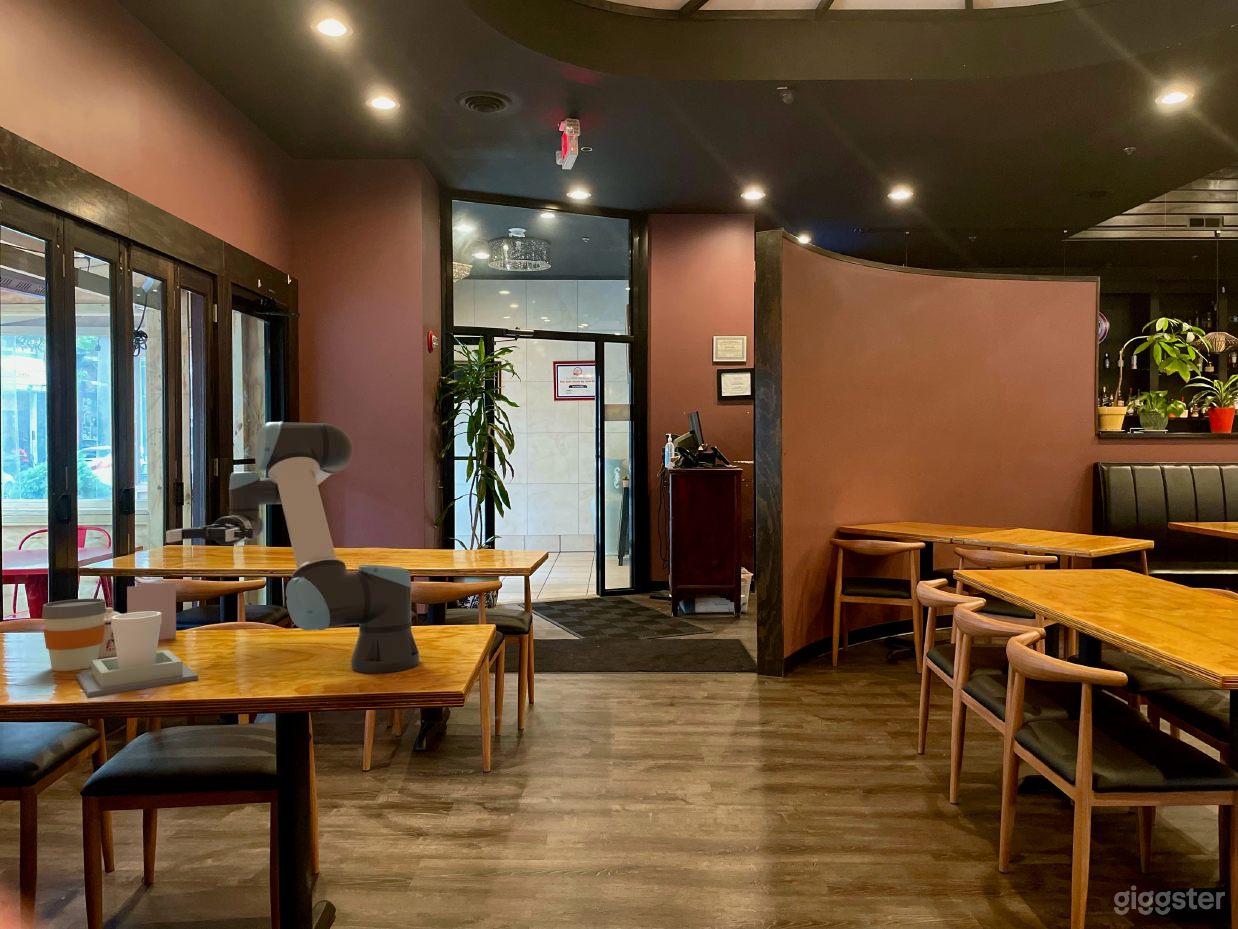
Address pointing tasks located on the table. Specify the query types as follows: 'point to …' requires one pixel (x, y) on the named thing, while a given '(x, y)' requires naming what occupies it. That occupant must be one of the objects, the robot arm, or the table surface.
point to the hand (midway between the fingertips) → (197, 536)
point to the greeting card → (155, 604)
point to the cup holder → (134, 675)
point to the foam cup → (136, 638)
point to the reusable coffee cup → (73, 632)
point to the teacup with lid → (108, 636)
